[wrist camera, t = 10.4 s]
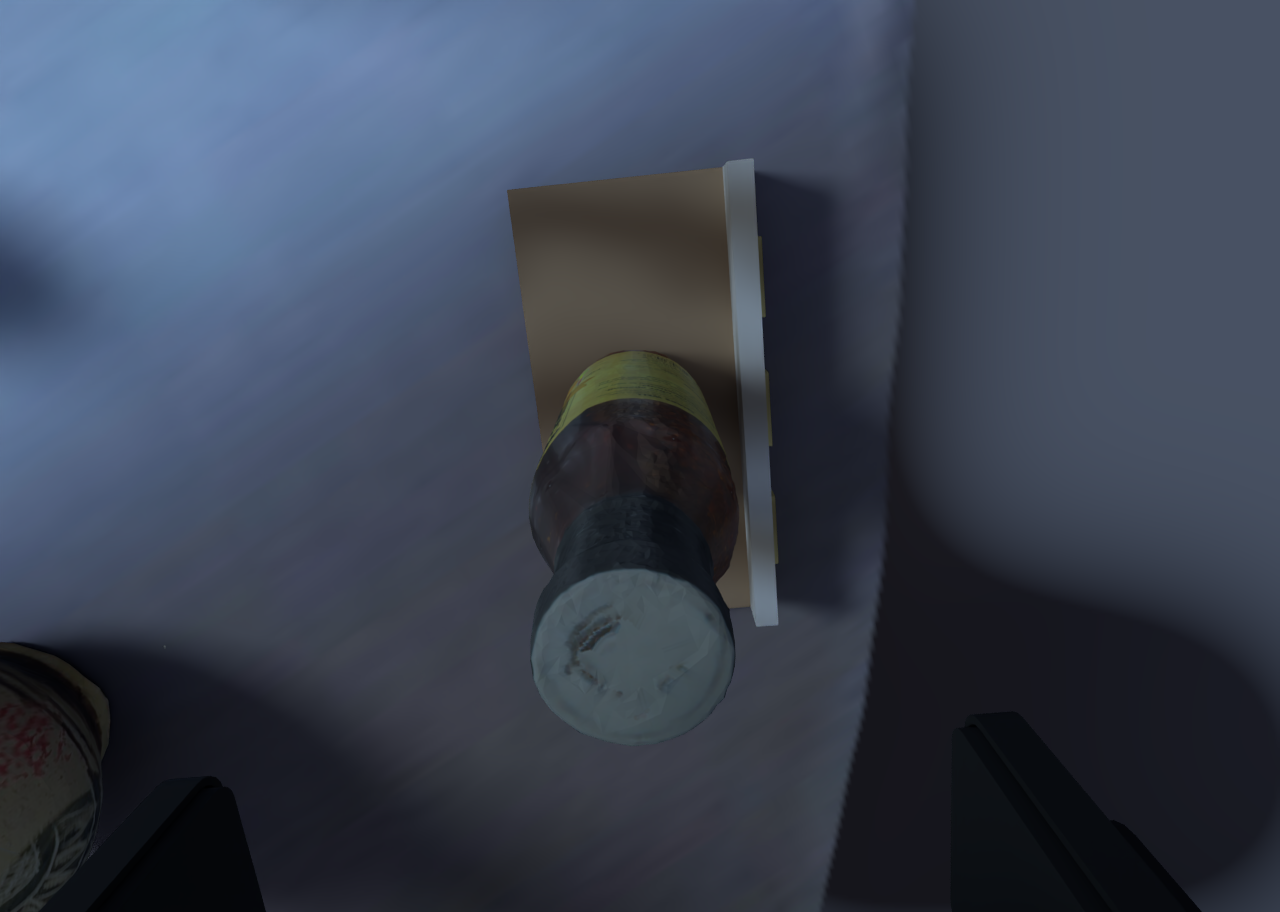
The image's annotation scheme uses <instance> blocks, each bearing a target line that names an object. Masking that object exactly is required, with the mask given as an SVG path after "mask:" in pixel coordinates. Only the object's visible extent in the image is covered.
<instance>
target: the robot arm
mask: <svg viewBox="0 0 1280 912" xmlns="http://www.w3.org/2000/svg"><path fill="white" fill-rule="evenodd" d="M951 789H952V790H951V908H952V912H1201V911H1200V909H1199V908H1198V907H1197V906H1196V905H1195V903H1194V902H1193V901H1192V900H1191V899H1190V898H1189V897H1188V895H1187V894H1186V893H1185V892H1184V891H1183V890H1182V888H1181V887H1180V886H1179V885H1178V884H1177V883H1176V882H1175V880H1174V879H1173V878H1172V877H1171V876H1170V875H1169V873H1168V872H1167V871H1166V870H1165V869H1164V868H1163V867H1162V865H1161V864H1160V863H1159V862H1158V861H1157V860H1156V858H1154V856H1153V855H1152V854H1151V853H1150V852H1149V850H1148V849H1147V848H1146V847H1145V846H1144V845H1143V843H1142V842H1141V841H1140V840H1139V839H1138V838H1137V837H1136V835H1134V834H1133V833H1132V832H1131V831H1130V830H1129V829H1128V828H1127V827H1126V826H1125V825H1123V824H1121V823H1119V822H1117V821H1114V820H1109V819H1108V818H1107V817H1106V816H1105V815H1104V813H1103V812H1102V811H1101V810H1100V809H1099V807H1098V806H1097V805H1096V804H1095V803H1094V801H1093V800H1092V799H1091V798H1090V797H1089V795H1088V794H1087V793H1086V792H1085V791H1084V790H1083V788H1082V787H1081V786H1080V785H1079V784H1078V782H1077V781H1076V780H1075V779H1074V778H1073V777H1072V775H1071V774H1070V773H1069V772H1068V770H1067V769H1066V768H1065V767H1064V766H1063V765H1062V764H1061V762H1060V761H1059V760H1058V759H1057V757H1056V756H1055V755H1054V754H1053V753H1052V752H1051V750H1050V749H1049V748H1048V747H1047V746H1046V744H1045V743H1044V742H1043V741H1042V740H1041V738H1040V737H1039V736H1038V735H1037V734H1036V733H1035V731H1034V730H1033V729H1032V728H1031V727H1030V726H1029V724H1028V723H1027V722H1026V721H1025V720H1024V719H1023V717H1022V716H1021V715H1019V714H1018V713H1017V712H1013V711H1012V712H1000V713H986V714H974V715H969V716H968V717H967V718H966V721H965V727H964V728H956V729H954V731H953V734H952V788H951ZM39 912H266V910H265V907H264V903H263V899H262V896H261V892H260V888H259V885H258V881H257V877H256V874H255V870H254V866H253V863H252V859H251V856H250V852H249V848H248V845H247V841H246V837H245V834H244V830H243V826H242V823H241V819H240V815H239V812H238V808H237V805H236V801H235V797H234V795H233V792H232V791H231V790H230V789H229V788H228V787H223V786H222V784H221V782H220V781H219V780H218V779H217V778H216V777H212V776H204V777H192V778H179V779H170V780H166V781H163V782H162V783H161V784H160V785H158V786H157V787H156V788H155V789H154V790H153V791H152V792H151V793H150V794H149V796H148V797H147V798H146V799H145V800H144V801H143V802H142V803H141V804H140V805H139V806H138V807H137V808H136V809H135V810H134V811H133V812H132V814H131V815H130V816H129V817H128V818H127V819H126V820H125V821H124V822H123V823H122V824H121V825H120V826H119V827H118V828H117V829H116V830H115V831H114V833H113V834H112V835H111V836H110V837H109V838H108V839H107V840H106V841H105V842H104V843H103V844H102V845H101V846H100V847H99V848H98V849H97V850H96V852H95V853H94V854H93V855H92V856H91V857H90V858H89V859H88V860H87V861H86V862H85V863H84V864H83V865H82V866H81V867H80V868H79V869H78V871H77V872H76V873H75V874H74V875H73V876H72V877H71V878H70V879H69V880H68V881H67V882H66V883H65V884H64V885H63V886H62V887H61V889H60V890H59V891H58V892H57V893H56V894H55V895H54V896H53V897H52V898H51V899H50V900H49V901H48V902H47V903H46V904H45V905H44V906H43V908H42V909H41V910H40V911H39Z"/></svg>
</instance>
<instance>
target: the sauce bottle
mask: <svg viewBox="0 0 1280 912" xmlns="http://www.w3.org/2000/svg"><path fill="white" fill-rule="evenodd" d="M529 520H530V525H531V530H532V535H533V538H534V541H535V543H536V545H537V547H538V549H539V551H540V553H541V555H542V557H543V558H544V560H545V561H546V563H547V564H548V566H549V567H550V569H551V571H552V572H553V574H554V575H553V577H552V579H551V580H550V582H549V584H548V585H547V586H546V587H545V588H544V590H543V592H542V594H541V596H540V598H539V600H538V603H537V606H536V609H535V613H534V620H533V628H532V635H531V660H530V661H531V667H532V674H533V680H534V682H535V684H536V686H537V689H538V691H539V693H540V696H541V697H542V698H543V700H544V701H545V702H546V704H547V705H548V707H549V708H550V709H551V710H552V712H553V713H555V714H556V715H557V716H558V717H560V718H561V719H562V720H563V721H564V722H566V723H567V724H569V725H570V726H572V727H573V728H574V729H576V730H577V731H578V732H580V733H582V734H585V735H588V736H591V737H595V738H597V739H600V740H602V741H606V742H610V743H616V744H622V745H628V746H640V745H644V744H657V743H660V742H664V741H667V740H670V739H673V738H676V737H678V736H680V735H683V734H685V733H687V732H688V731H690V730H692V729H693V728H695V727H696V726H697V725H698V724H700V723H701V722H702V721H703V720H705V719H706V718H707V717H708V716H709V715H710V714H711V713H712V711H713V710H714V708H715V707H716V706H717V704H719V703H720V702H721V701H722V700H723V699H724V698H725V695H726V691H727V688H728V686H729V684H730V683H731V679H732V675H733V671H734V667H735V640H734V635H733V628H732V623H731V619H730V613H729V608H728V606H727V605H726V603H725V601H724V600H723V597H722V595H721V593H720V591H719V589H718V587H717V586H716V583H717V582H718V580H719V579H720V578H721V577H722V576H723V575H724V574H725V572H726V571H727V570H728V569H729V567H730V561H731V559H732V556H733V551H734V547H735V545H736V541H737V536H738V526H739V505H738V498H737V495H736V488H735V484H734V482H733V480H732V476H731V469H730V466H729V463H728V460H727V457H726V453H725V450H724V448H723V445H722V442H721V440H720V437H719V435H718V432H717V430H716V427H715V424H714V421H713V419H712V416H711V413H710V411H709V408H708V406H707V403H706V401H705V398H704V396H703V394H702V392H701V390H700V388H699V386H698V385H697V383H696V382H695V380H694V379H693V378H692V377H691V376H690V374H689V373H688V372H687V371H686V370H685V369H684V368H682V367H681V366H680V365H679V364H678V363H676V362H674V361H672V360H671V359H669V358H668V357H667V356H666V355H664V354H660V353H658V352H656V351H646V350H623V351H618V352H613V353H609V354H608V355H606V356H604V357H603V358H600V359H599V360H597V361H596V362H595V363H594V364H592V365H591V366H589V367H588V368H587V369H586V370H585V371H584V372H583V373H582V374H581V375H580V376H579V377H578V378H577V380H576V381H575V382H574V384H573V385H572V386H571V388H570V390H569V392H568V395H567V397H566V400H565V402H564V405H563V407H562V409H561V412H560V414H559V416H558V419H557V421H556V423H555V426H554V428H553V430H552V433H551V435H550V438H549V440H548V442H547V445H546V447H545V450H544V452H543V455H542V457H541V459H540V462H539V465H538V467H537V470H536V473H535V476H534V479H533V482H532V486H531V492H530V499H529Z"/></svg>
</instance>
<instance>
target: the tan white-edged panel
mask: <svg viewBox="0 0 1280 912" xmlns="http://www.w3.org/2000/svg"><path fill="white" fill-rule="evenodd" d="M507 193H508V201H509V208H510V215H511V222H512V230H513V237H514V244H515V252H516V259H517V266H518V273H519V281H520V288H521V295H522V302H523V310H524V317H525V324H526V332H527V339H528V346H529V353H530V361H531V368H532V375H533V382H534V390H535V397H536V404H537V411H538V419H539V426H540V433H541V441H542V448H543V452H544V450H545V447H546V445H547V442H548V440H549V438H550V435H551V433H552V430H553V428H554V426H555V423H556V421H557V419H558V416H559V414H560V412H561V409H562V407H563V405H564V402H565V400H566V397H567V395H568V392H569V390H570V388H571V386H572V385H573V384H574V382H575V381H576V380H577V378H578V377H579V376H580V375H581V374H582V373H583V372H584V371H585V370H586V369H587V368H588V367H589V366H591V365H592V364H594V363H595V362H596V361H597V360H599V359H600V358H603V357H604V356H606V355H608V354H609V353H613V352H618V351H623V350H646V351H656V352H658V353H660V354H664V355H666V356H667V357H668V358H669V359H671V360H672V361H674V362H676V363H678V364H679V365H680V366H681V367H682V368H684V369H685V370H686V371H687V372H688V373H689V374H690V376H691V377H692V378H693V379H694V380H695V382H696V383H697V385H698V386H699V388H700V390H701V392H702V394H703V396H704V398H705V401H706V403H707V406H708V408H709V411H710V413H711V416H712V419H713V421H714V424H715V427H716V430H717V432H718V435H719V437H720V440H721V442H722V445H723V448H724V450H725V453H726V457H727V460H728V463H729V466H730V469H731V476H732V480H733V482H734V484H735V488H736V495H737V498H738V505H739V526H738V536H737V541H736V545H735V547H734V551H733V556H732V559H731V561H730V567H729V569H728V570H727V571H726V572H725V574H724V575H723V576H722V577H721V578H720V579H719V580H718V582H717V583H716V586H717V587H718V589H719V591H720V593H721V595H722V597H723V600H724V601H725V603H726V605H727V606H728V608H738V607H750V606H751V610H752V613H753V617H754V620H755V624H756V627H759V626H771V625H778V610H777V591H776V572H775V564H778V543H777V524H776V505H775V495H774V493H773V491H772V489H771V478H770V459H769V446H772V428H771V408H770V389H769V372H768V371H767V370H766V369H765V365H764V347H763V328H762V317H766V312H765V292H764V273H763V254H762V236H759V237H758V234H757V215H756V196H755V177H754V159H743V160H734V161H727V162H726V164H725V165H724V166H723V167H720V168H711V169H701V170H692V171H682V172H673V173H663V174H654V175H644V176H635V177H626V178H616V179H607V180H597V181H588V182H578V183H569V184H559V185H550V186H540V187H531V188H522V189H512V190H507Z"/></svg>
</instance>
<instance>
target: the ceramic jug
mask: <svg viewBox="0 0 1280 912" xmlns="http://www.w3.org/2000/svg"><path fill="white" fill-rule="evenodd" d="M163 647H164V648H165V649H166V647H165V646H163ZM109 731H110V710H109V701H108V699H107V698H106V696H105V695H104V693H103V692H102V690H101V689H100V688H99V687H98V686H96V685H95V684H93V683H92V682H91V681H89V680H88V679H87V678H85V677H84V676H83V675H82V674H80V673H79V672H78V671H77V670H76V669H74V668H73V667H72V666H71V665H70V664H68V663H66V662H65V661H63V660H61V659H60V658H58V657H56V656H54V655H51V654H48V653H45V652H41V651H38V650H35V649H31V648H28V647H25V646H21V645H18V644H15V643H5V642H0V912H39V911H40V910H41V909H42V908H43V906H44V905H45V904H46V903H47V902H48V901H49V900H50V899H51V898H52V897H53V896H54V895H55V894H56V893H57V892H58V891H59V890H60V889H61V887H62V886H63V885H64V884H65V883H66V882H67V881H68V880H69V879H70V878H71V877H72V876H73V875H74V874H75V873H76V872H77V871H78V869H79V868H80V867H81V866H82V865H83V864H84V863H85V862H86V861H87V859H88V856H89V854H90V852H91V849H92V846H93V843H94V840H95V837H96V833H97V828H98V822H99V817H100V812H101V806H102V800H103V785H102V771H101V761H102V759H103V757H104V754H105V752H106V749H107V747H108V744H109Z"/></svg>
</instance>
